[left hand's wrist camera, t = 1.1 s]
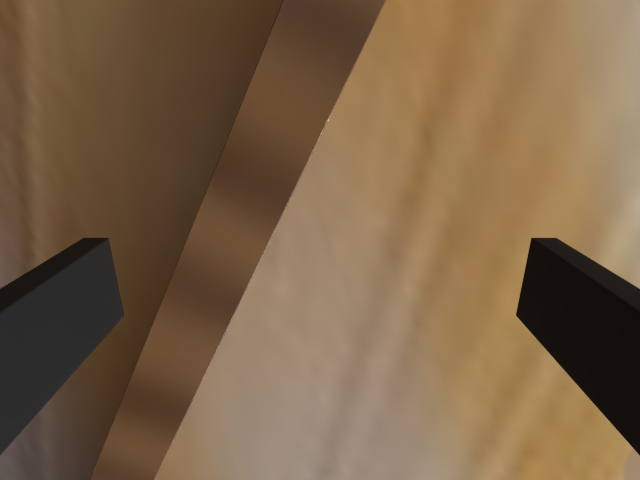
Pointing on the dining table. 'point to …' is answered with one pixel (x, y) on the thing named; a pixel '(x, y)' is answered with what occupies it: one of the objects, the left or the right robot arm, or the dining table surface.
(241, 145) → the post
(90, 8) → the dining table surface
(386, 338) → the dining table surface
